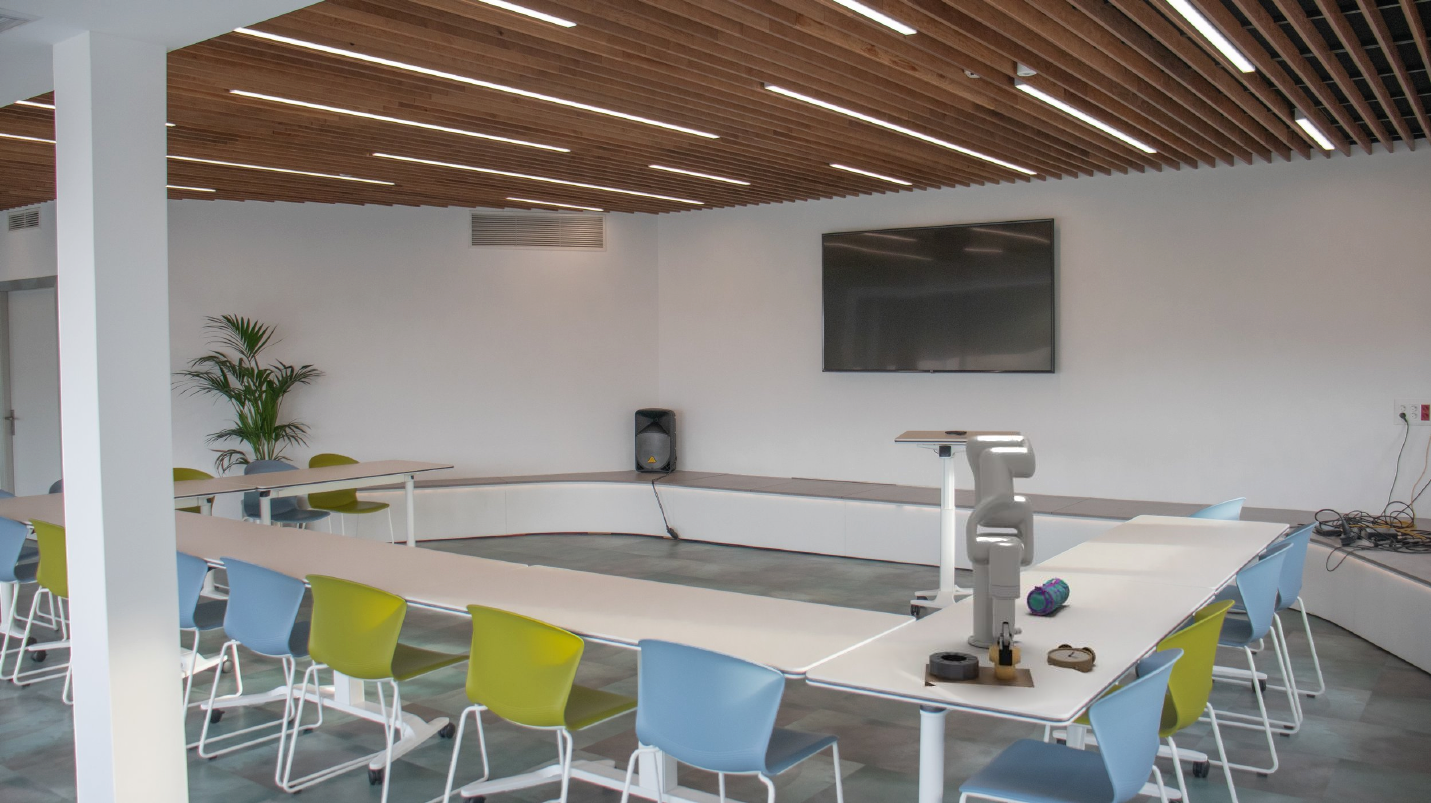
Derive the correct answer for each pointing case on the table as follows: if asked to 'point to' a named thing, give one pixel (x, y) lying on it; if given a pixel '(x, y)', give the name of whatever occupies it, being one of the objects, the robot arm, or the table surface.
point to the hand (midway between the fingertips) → (1004, 660)
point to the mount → (988, 678)
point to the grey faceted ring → (954, 666)
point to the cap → (1004, 671)
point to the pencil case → (1048, 596)
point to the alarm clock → (1072, 657)
